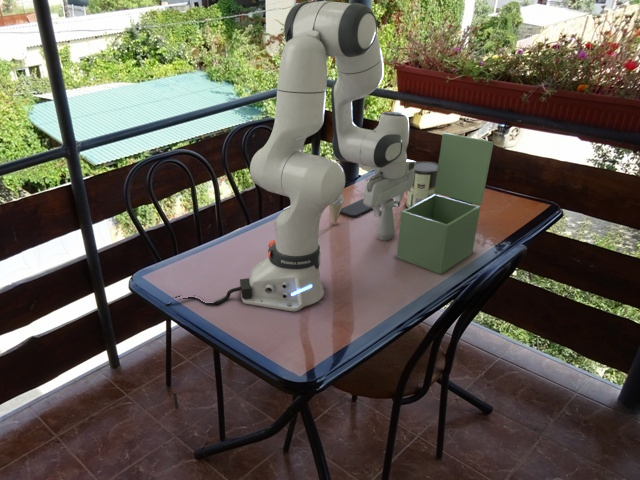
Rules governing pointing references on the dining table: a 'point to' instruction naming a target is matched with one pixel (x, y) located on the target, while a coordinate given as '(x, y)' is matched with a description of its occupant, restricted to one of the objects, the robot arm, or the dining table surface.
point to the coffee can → (422, 182)
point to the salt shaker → (386, 221)
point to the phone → (355, 209)
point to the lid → (463, 167)
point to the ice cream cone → (336, 208)
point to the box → (437, 232)
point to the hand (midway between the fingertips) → (387, 211)
